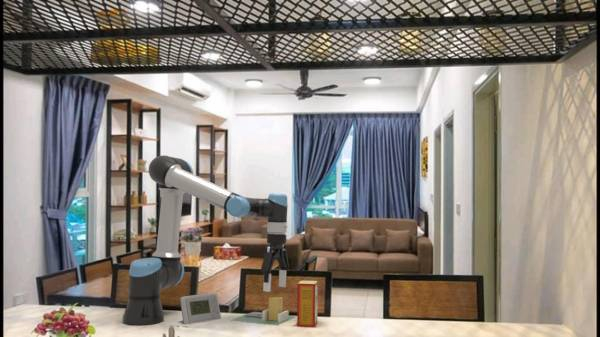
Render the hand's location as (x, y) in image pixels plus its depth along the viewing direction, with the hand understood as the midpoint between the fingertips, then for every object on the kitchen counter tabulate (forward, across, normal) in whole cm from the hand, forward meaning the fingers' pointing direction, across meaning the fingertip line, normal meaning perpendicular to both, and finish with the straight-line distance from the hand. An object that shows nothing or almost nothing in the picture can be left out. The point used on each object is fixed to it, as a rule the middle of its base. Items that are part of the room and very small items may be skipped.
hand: (274, 289), depth 186 cm
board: (+13, 0, +4) cm, 13 cm away
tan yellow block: (+11, 0, -1) cm, 11 cm away
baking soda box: (+12, +3, -13) cm, 18 cm away
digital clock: (+14, -13, +24) cm, 31 cm away
